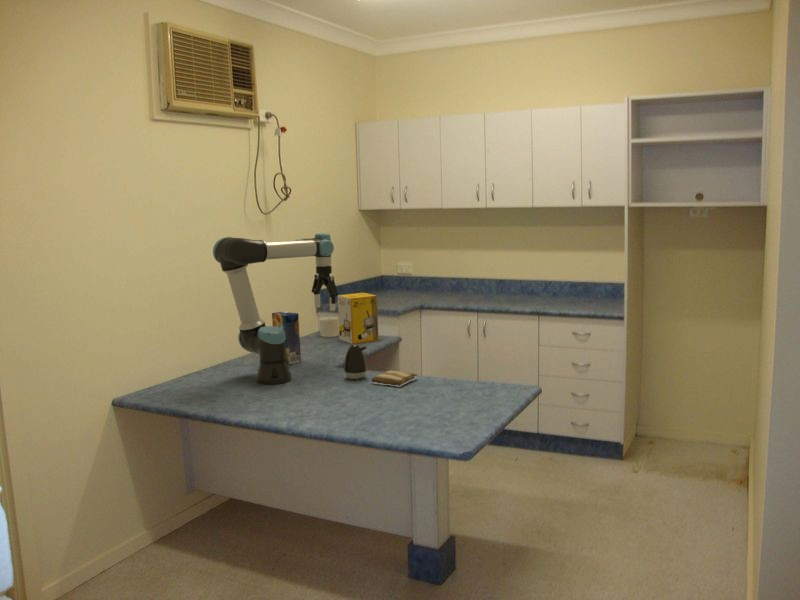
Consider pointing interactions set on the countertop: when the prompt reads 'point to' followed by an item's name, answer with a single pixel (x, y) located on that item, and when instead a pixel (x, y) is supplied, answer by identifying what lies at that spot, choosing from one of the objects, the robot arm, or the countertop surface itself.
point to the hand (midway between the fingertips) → (325, 308)
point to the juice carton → (289, 334)
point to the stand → (393, 377)
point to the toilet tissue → (329, 327)
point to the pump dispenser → (355, 362)
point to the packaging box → (358, 317)
